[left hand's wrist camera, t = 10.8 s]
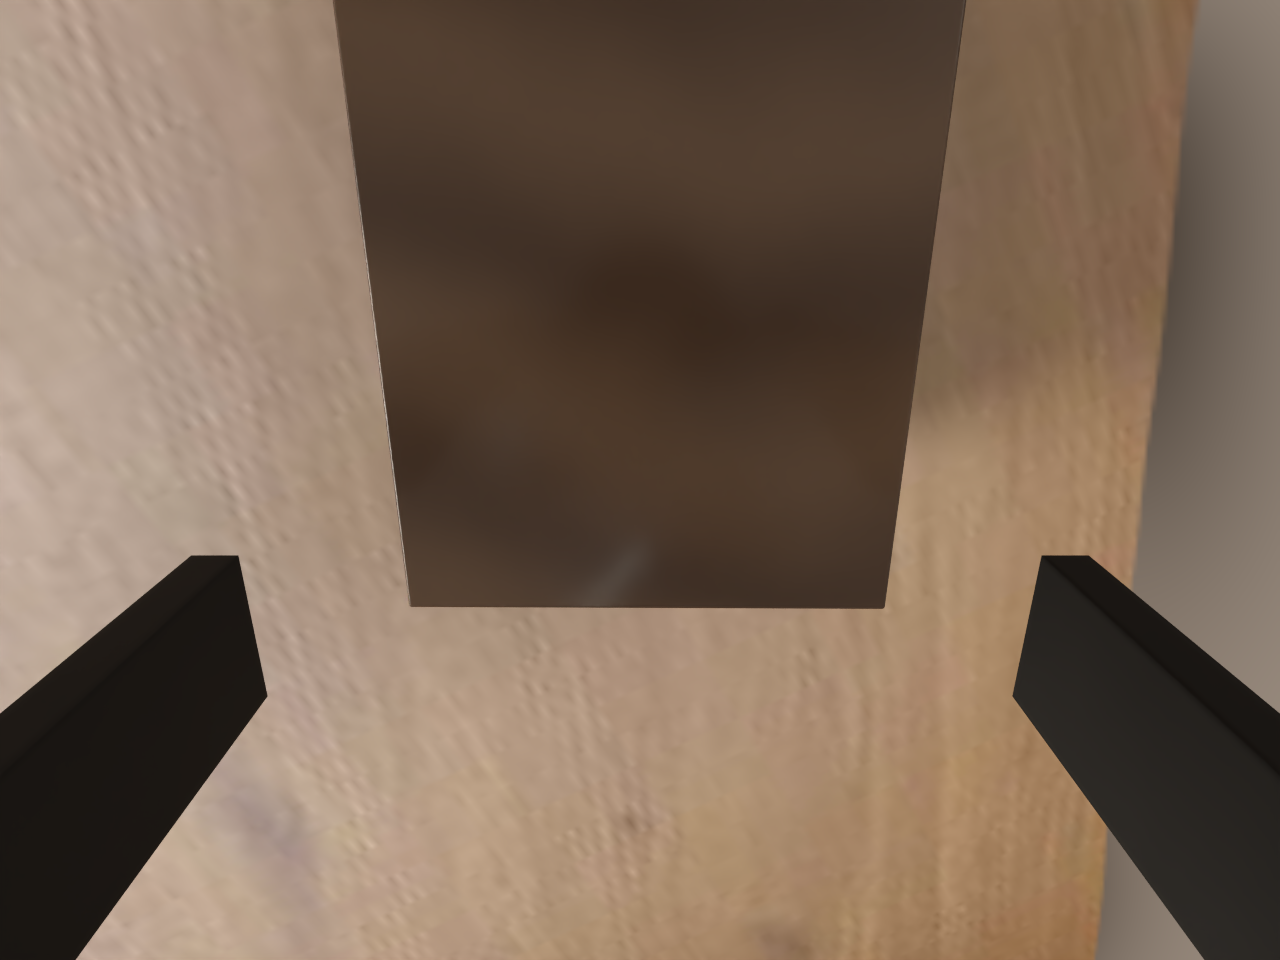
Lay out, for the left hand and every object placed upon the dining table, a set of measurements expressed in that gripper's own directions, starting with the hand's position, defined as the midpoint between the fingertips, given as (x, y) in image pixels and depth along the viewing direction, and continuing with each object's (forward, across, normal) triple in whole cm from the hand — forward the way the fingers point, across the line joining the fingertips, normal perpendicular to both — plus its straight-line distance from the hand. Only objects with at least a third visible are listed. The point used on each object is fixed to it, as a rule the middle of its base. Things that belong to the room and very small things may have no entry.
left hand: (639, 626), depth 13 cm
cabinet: (+14, 0, -6) cm, 15 cm away
